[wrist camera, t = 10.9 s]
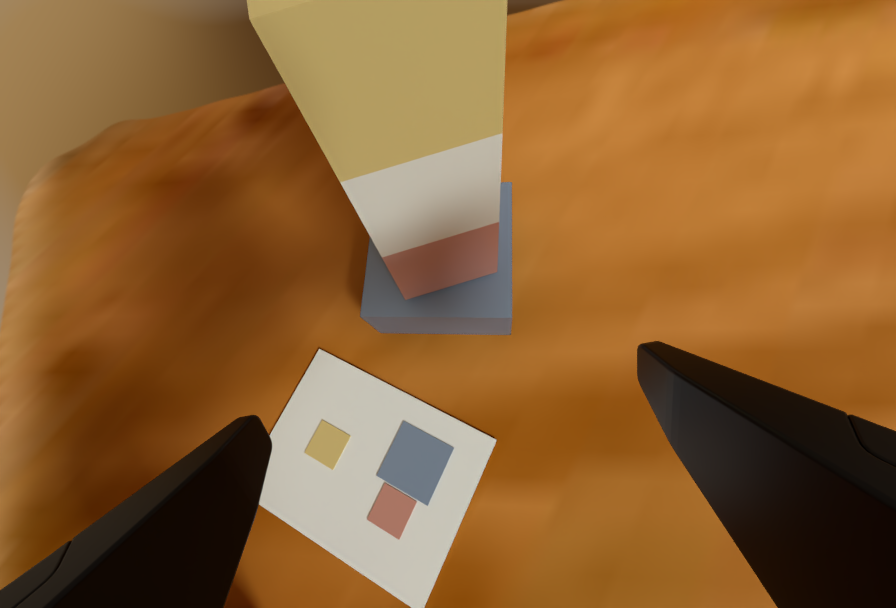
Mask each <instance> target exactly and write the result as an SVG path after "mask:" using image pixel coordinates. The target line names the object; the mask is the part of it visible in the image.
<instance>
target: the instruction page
mask: <svg viewBox="0 0 896 608" xmlns="http://www.w3.org/2000/svg"><path fill="white" fill-rule="evenodd" d="M270 438H271V441H272V452H271V456H270V460H269V464H268V468H267V472H266V477H265V481H264V485H263V489H262V493H261V497H260V501H259V505H261V506H262V507H264V508H265V509H267V510H268V511H270V512H271V513H273V514H274V515H276V516H277V517H279V518H280V519H281V520H283V521H284V522H286V523H287V524H289V525H290V526H292V527H293V528H295V529H296V530H298V531H299V532H301V533H302V534H304V535H305V536H307V537H308V538H310V539H311V540H312V541H314V542H315V543H317V544H318V545H320V546H321V547H323V548H324V549H326V550H327V551H329V552H330V553H332V554H333V555H335V556H336V557H338V558H339V559H341V560H342V561H344V562H345V563H346V564H348V565H349V566H351V567H352V568H354V569H355V570H357V571H358V572H360V573H361V574H363V575H364V576H366V577H367V578H369V579H370V580H372V581H373V582H375V583H376V584H377V585H379V586H380V587H382V588H383V589H385V590H386V591H388V592H389V593H391V594H392V595H394V596H395V597H397V598H398V599H400V600H401V601H403V602H404V603H406V604H407V605H409V606H410V607H411V608H424V607H425V604H426V602H427V600H428V597H429V595H430V593H431V591H432V588H433V586H434V584H435V581H436V579H437V577H438V574H439V572H440V570H441V568H442V565H443V563H444V561H445V558H446V556H447V554H448V551H449V549H450V547H451V544H452V542H453V540H454V538H455V535H456V533H457V531H458V528H459V526H460V524H461V521H462V519H463V517H464V514H465V512H466V510H467V508H468V505H469V503H470V501H471V498H472V496H473V494H474V491H475V489H476V487H477V485H478V482H479V480H480V478H481V475H482V473H483V471H484V468H485V466H486V464H487V461H488V459H489V457H490V455H491V452H492V450H493V448H494V445H495V443H496V441H497V440H496V439H494V438H492V437H490V436H488V435H486V434H484V433H482V432H480V431H478V430H477V429H475V428H473V427H471V426H469V425H467V424H465V423H463V422H461V421H459V420H457V419H455V418H453V417H451V416H449V415H447V414H445V413H443V412H442V411H440V410H438V409H436V408H434V407H432V406H430V405H428V404H426V403H424V402H422V401H420V400H418V399H416V398H414V397H412V396H410V395H408V394H407V393H405V392H403V391H401V390H399V389H397V388H395V387H393V386H391V385H389V384H387V383H385V382H383V381H381V380H379V379H377V378H375V377H373V376H371V375H370V374H368V373H366V372H364V371H362V370H360V369H358V368H356V367H354V366H352V365H350V364H348V363H346V362H344V361H342V360H340V359H338V358H336V357H335V356H333V355H331V354H329V353H327V352H325V351H323V350H321V349H319V350H318V352H317V354H316V355H315V357H314V359H313V361H312V362H311V364H310V366H309V368H308V369H307V371H306V373H305V375H304V376H303V378H302V380H301V382H300V383H299V385H298V387H297V389H296V390H295V392H294V394H293V396H292V397H291V399H290V401H289V402H288V404H287V406H286V408H285V409H284V411H283V413H282V415H281V416H280V418H279V420H278V422H277V423H276V425H275V427H274V429H273V430H272V432H271V434H270Z"/></svg>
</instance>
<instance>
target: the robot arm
mask: <svg viewBox="0 0 896 608" xmlns="http://www.w3.org/2000/svg"><path fill="white" fill-rule="evenodd" d="M637 376H638V381H639V383H640V386H641V388H642V390H643V392H644V394H645V396H646V398H647V400H648V401H649V403H650V405H651V407H652V409H653V411H654V413H655V415H656V417H657V419H658V421H659V423H660V425H661V427H662V429H663V431H664V433H665V435H666V437H667V439H668V440H669V442H670V444H671V446H672V447H673V449H674V451H675V452H676V454H677V455H678V457H679V458H680V460H681V461H682V463H683V464H684V466H685V468H686V469H687V471H688V472H689V474H690V475H691V477H692V478H693V480H694V481H695V483H696V484H697V486H698V487H699V489H700V490H701V492H702V493H703V495H704V496H705V498H706V499H707V501H708V502H709V504H710V506H711V507H712V509H713V510H714V512H715V513H716V515H717V516H718V518H719V519H720V521H721V522H722V524H723V525H724V527H725V528H726V530H727V531H728V533H729V534H730V536H731V537H732V539H733V540H734V542H735V544H736V545H737V547H738V548H739V550H740V551H741V553H742V554H743V556H744V557H745V559H746V560H747V562H748V563H749V565H750V566H751V568H752V569H753V571H754V572H755V574H756V575H757V577H758V578H759V580H760V582H761V583H762V585H763V586H764V588H765V589H766V591H767V592H768V594H769V595H770V597H771V598H772V600H773V601H774V603H775V604H776V606H777V607H778V608H896V431H894V430H892V429H889V428H886V427H883V426H881V425H878V424H875V423H873V422H870V421H868V420H865V419H862V418H860V417H857V416H854V415H848V416H847V414H846V413H845V412H844V411H841V410H838V409H836V408H833V407H831V406H828V405H825V404H823V403H820V402H817V401H815V400H812V399H810V398H807V397H804V396H802V395H799V394H796V393H794V392H791V391H788V390H786V389H783V388H781V387H778V386H775V385H773V384H770V383H767V382H765V381H762V380H760V379H757V378H754V377H752V376H749V375H746V374H744V373H741V372H739V371H736V370H733V369H731V368H728V367H725V366H723V365H720V364H718V363H715V362H712V361H710V360H707V359H704V358H702V357H699V356H697V355H694V354H691V353H689V352H686V351H683V350H681V349H678V348H676V347H673V346H670V345H668V344H665V343H662V342H660V341H654V342H648V343H643V344H640V345H639V346H638V349H637ZM271 452H272V441H271V438H270V436H269V434H268V432H267V431H266V429H265V427H264V425H263V423H262V422H261V420H260V418H259V417H258V416H256V415H250V416H244V417H239V418H237V419H236V420H234V421H233V422H231V423H230V424H229V425H227V426H226V427H225V428H223V429H222V430H221V431H219V432H218V433H216V434H215V435H214V436H212V437H211V438H210V439H208V440H207V441H205V442H204V443H203V444H201V445H200V446H199V447H197V448H196V449H194V450H193V451H192V452H190V453H189V454H188V455H186V456H185V457H184V458H182V459H181V460H179V461H178V462H177V463H175V464H174V465H173V466H171V467H170V468H168V469H167V470H166V471H164V472H163V473H162V474H160V475H159V476H158V477H156V478H155V479H153V480H152V481H151V482H149V483H148V484H147V485H145V486H144V487H142V488H141V489H140V490H138V491H137V492H136V493H134V494H133V495H131V496H130V497H129V498H127V499H126V500H125V501H123V502H122V503H121V504H119V505H118V506H116V507H115V508H114V509H112V510H111V511H110V512H108V513H107V514H105V515H104V516H103V517H101V518H100V519H99V520H97V521H96V522H94V523H93V524H92V525H90V526H89V527H88V528H86V529H85V530H84V531H82V532H81V533H79V534H78V535H77V536H75V537H74V538H73V540H72V541H68V542H67V543H66V544H64V545H63V546H61V547H60V548H59V549H57V550H56V551H55V552H53V553H52V554H51V555H49V556H48V557H46V558H45V559H44V560H42V561H41V562H39V563H38V564H37V565H35V566H34V567H32V568H31V569H30V570H28V571H27V572H25V573H24V574H23V575H21V576H20V577H18V578H17V579H16V580H14V581H13V582H11V583H10V584H9V585H7V586H6V587H4V588H3V589H1V590H0V608H224V605H225V602H226V599H227V596H228V593H229V590H230V588H231V585H232V582H233V579H234V576H235V573H236V570H237V567H238V565H239V562H240V559H241V556H242V553H243V550H244V547H245V544H246V542H247V539H248V536H249V533H250V530H251V527H252V524H253V521H254V518H255V515H256V512H257V508H258V505H259V501H260V497H261V493H262V489H263V485H264V481H265V477H266V472H267V468H268V464H269V460H270V456H271Z"/></svg>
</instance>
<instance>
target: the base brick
mask: <svg viewBox="0 0 896 608" xmlns="http://www.w3.org/2000/svg"><path fill="white" fill-rule="evenodd" d="M360 317H361V318H362V319H364V320H365V321H366V322H368V323H369V324H370V325H371V326H373V327H374V328H375V329H376V330H378V331H379V332H380V333H415V334H481V335H511V326H512V182H503V183H501V185H500V213H499V240H498V267H497V272H496V273H492V274H489V275H486V276H483V277H479V278H476V279H473V280H470V281H466V282H463V283H460V284H456V285H453V286H450V287H447V288H443V289H440V290H437V291H434V292H430V293H427V294H424V295H420V296H417V297H414V298H411V299H407V300H405V298H404V297H403V295H402V293H401V291H400V289H399V288H398V286H397V284H396V282H395V280H394V279H393V277H392V275H391V273H390V271H389V270H388V268H387V266H386V264H385V262H384V261H383V259H382V257H381V255H380V253H379V252H378V250H377V248H376V246H375V244H374V243H373V241H372V239H371V237H370V240H369V248H368V256H367V264H366V273H365V281H364V289H363V297H362V305H361V313H360Z"/></svg>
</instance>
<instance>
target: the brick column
mask: <svg viewBox="0 0 896 608" xmlns="http://www.w3.org/2000/svg"><path fill="white" fill-rule="evenodd" d="M247 5H248V12H249V19H250V21H251V23H252V25H253V26H254V28H255V30H256V32H257V34H258V35H259V37H260V39H261V41H262V43H263V44H264V46H265V48H266V50H267V51H268V53H269V55H270V57H271V59H272V61H273V62H274V64H275V66H276V68H277V70H278V72H279V73H280V75H281V77H282V79H283V81H284V82H285V84H286V86H287V88H288V90H289V91H290V93H291V95H292V97H293V99H294V100H295V102H296V104H297V106H298V108H299V109H300V111H301V113H302V115H303V117H304V118H305V120H306V122H307V124H308V126H309V127H310V129H311V131H312V133H313V135H314V136H315V138H316V140H317V142H318V144H319V145H320V147H321V149H322V151H323V153H324V154H325V156H326V158H327V160H328V162H329V163H330V165H331V167H332V169H333V171H334V172H335V174H336V176H337V178H338V180H339V181H340V183H341V185H342V187H343V189H344V190H345V192H346V194H347V196H348V198H349V199H350V201H351V203H352V205H353V207H354V208H355V210H356V212H357V214H358V216H359V217H360V219H361V221H362V223H363V225H364V226H365V228H366V230H367V232H368V234H369V235H370V237H371V239H372V241H373V243H374V244H375V246H376V248H377V250H378V252H379V253H380V255H381V257H382V259H383V261H384V262H385V264H386V266H387V268H388V270H389V271H390V273H391V275H392V277H393V279H394V280H395V282H396V284H397V286H398V288H399V289H400V291H401V293H402V295H403V297H404V298H405V300H407V299H411V298H414V297H417V296H420V295H424V294H427V293H430V292H434V291H437V290H440V289H443V288H447V287H450V286H453V285H456V284H460V283H463V282H466V281H470V280H473V279H476V278H479V277H483V276H486V275H489V274H492V273H496V272H497V267H498V240H499V213H500V185H501V158H502V131H503V104H504V77H505V49H506V22H507V0H247Z"/></svg>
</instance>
